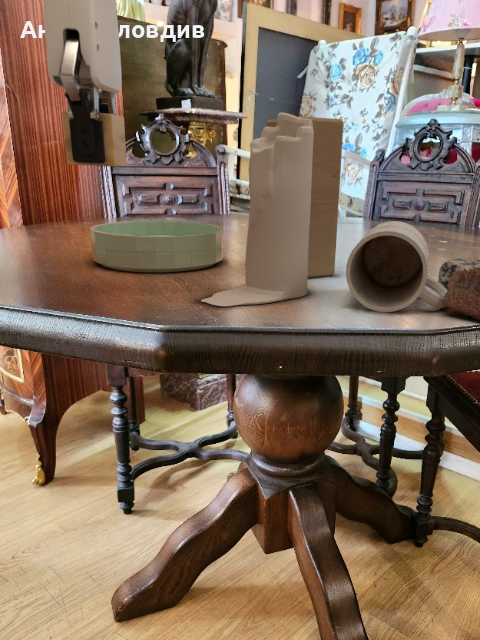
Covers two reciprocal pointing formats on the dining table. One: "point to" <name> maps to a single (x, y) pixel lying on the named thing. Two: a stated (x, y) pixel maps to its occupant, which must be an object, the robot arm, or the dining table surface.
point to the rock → (456, 268)
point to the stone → (464, 293)
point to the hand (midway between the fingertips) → (97, 160)
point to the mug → (392, 269)
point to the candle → (277, 215)
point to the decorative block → (323, 194)
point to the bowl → (157, 245)
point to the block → (112, 140)
